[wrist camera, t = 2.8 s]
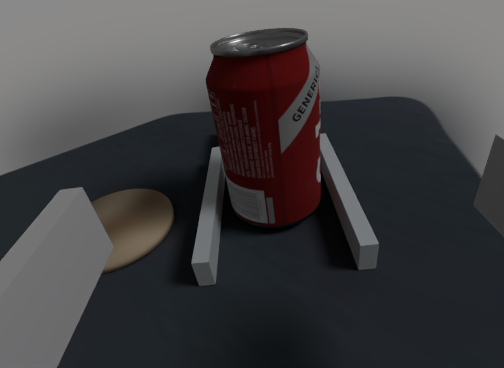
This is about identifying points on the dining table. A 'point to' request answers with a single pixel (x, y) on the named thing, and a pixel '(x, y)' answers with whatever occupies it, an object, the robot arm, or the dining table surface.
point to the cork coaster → (133, 224)
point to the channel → (340, 192)
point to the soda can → (268, 124)
